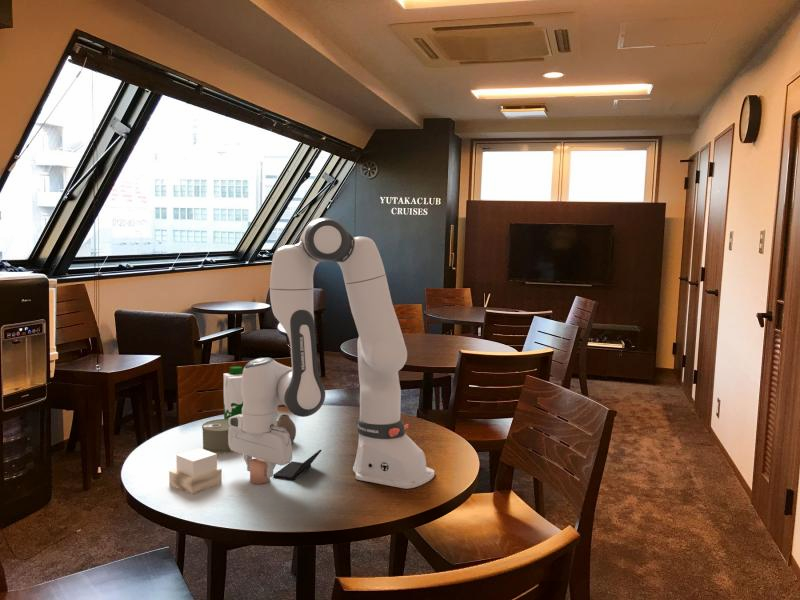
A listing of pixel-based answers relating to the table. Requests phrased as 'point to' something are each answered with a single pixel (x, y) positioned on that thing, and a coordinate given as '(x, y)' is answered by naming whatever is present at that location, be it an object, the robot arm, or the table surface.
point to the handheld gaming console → (295, 468)
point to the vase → (287, 425)
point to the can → (216, 436)
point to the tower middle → (196, 462)
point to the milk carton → (233, 392)
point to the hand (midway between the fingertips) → (260, 473)
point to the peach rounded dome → (258, 471)
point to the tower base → (194, 480)
